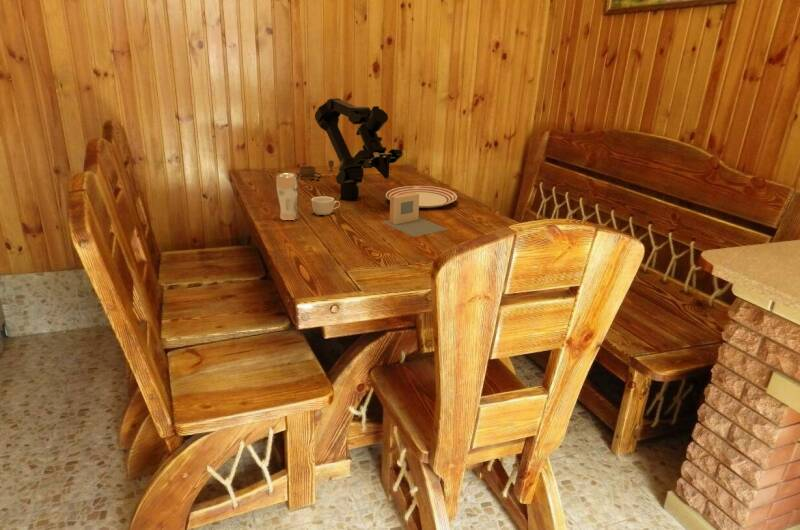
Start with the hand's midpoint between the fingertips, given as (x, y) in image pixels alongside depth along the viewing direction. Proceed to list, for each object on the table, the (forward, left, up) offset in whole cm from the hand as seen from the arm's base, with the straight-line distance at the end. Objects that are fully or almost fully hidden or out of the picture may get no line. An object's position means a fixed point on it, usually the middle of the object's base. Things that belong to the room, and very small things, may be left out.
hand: (387, 178), depth 186 cm
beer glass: (-32, -12, -13) cm, 37 cm away
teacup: (-21, -4, -13) cm, 25 cm away
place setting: (-39, +53, -14) cm, 67 cm away
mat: (+11, -13, -13) cm, 21 cm away
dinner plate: (+11, +18, -13) cm, 25 cm away
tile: (+7, -9, -12) cm, 17 cm away
